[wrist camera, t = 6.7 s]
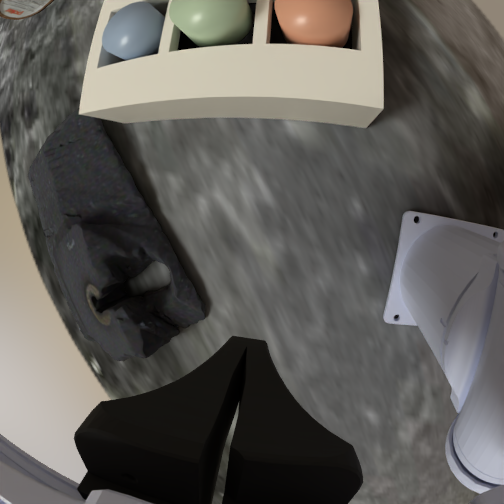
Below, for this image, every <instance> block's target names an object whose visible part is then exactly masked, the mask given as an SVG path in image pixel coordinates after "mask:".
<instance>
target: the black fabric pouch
mask: <svg viewBox="0 0 504 504" xmlns="http://www.w3.org/2000/svg"><path fill="white" fill-rule="evenodd" d="M79 109H80V108H78V109H77V110H75V111H74V112H73V113H71V114H70V115H68V117H67V118H66V119H65V120H64V121H63V122H62V123H61V124H60V125H59V126H58V127H57V128H56V129H55V131H54V132H53V133H52V134H50V135H49V136H48V138H47V139H46V141H45V143H44V144H43V146H42V147H41V149H40V151H39V153H38V154H37V156H36V158H35V160H34V161H33V163H32V165H31V166H30V170H29V173H28V178H29V180H30V183H31V187H32V191H33V194H34V197H35V200H36V203H37V206H38V209H39V216H40V219H41V223H42V227H43V229H44V235H45V237H46V243H47V247H48V252H49V254H50V256H51V261H52V263H53V264H54V272H55V273H56V276H57V279H58V281H59V283H60V287H61V290H62V292H63V294H64V296H65V298H66V301H67V304H68V306H69V308H70V310H71V312H72V314H73V316H74V318H75V321H76V322H77V324H78V325H79V329H80V331H81V332H82V334H83V335H84V337H85V338H86V339H88V340H90V341H93V342H94V341H95V342H98V343H100V345H101V347H102V348H103V350H104V351H106V352H107V353H108V354H110V355H111V356H112V357H113V359H115V360H118V361H125V360H127V359H128V358H132V357H135V356H136V357H140V358H147V357H149V356H150V355H152V354H153V353H154V352H156V351H157V350H158V348H160V347H161V346H163V345H164V344H166V343H168V342H169V341H170V339H171V338H172V337H174V336H176V335H178V334H179V331H178V329H177V328H178V326H181V327H183V328H187V327H189V326H190V324H195V323H197V322H198V321H199V320H204V319H205V314H204V311H205V304H204V303H203V302H202V301H201V300H200V296H199V295H198V294H197V293H196V291H195V289H194V286H193V284H192V282H191V281H190V280H189V279H188V278H187V277H186V275H185V272H184V269H183V268H182V266H181V265H180V263H179V261H178V258H177V256H176V255H175V253H174V251H173V249H172V247H171V244H170V242H169V240H168V238H167V236H166V235H165V234H164V233H162V229H161V226H160V224H159V223H158V222H157V219H156V218H155V217H154V215H153V212H152V210H151V209H150V208H149V207H148V206H147V205H146V202H145V200H144V198H143V196H141V195H140V193H139V191H138V190H137V188H136V186H135V183H134V181H133V179H132V176H131V174H130V172H129V171H128V170H127V169H126V167H125V166H124V165H123V161H122V158H121V157H120V155H119V154H118V153H117V151H116V150H115V147H114V146H113V143H112V141H111V140H110V138H109V137H108V136H107V134H106V132H105V129H104V126H103V123H102V121H101V118H96V117H91V116H85V115H80V114H79ZM155 260H156V261H158V262H161V263H163V264H165V265H166V266H167V267H168V269H169V271H170V277H171V283H170V284H169V285H168V286H167V287H164V288H161V289H160V290H158V291H148V292H146V293H145V295H144V297H143V298H142V296H137V297H132V298H129V297H127V296H126V294H127V293H126V291H125V287H124V283H123V282H124V281H125V280H126V279H127V278H128V277H135V276H137V275H138V274H139V273H141V272H142V271H143V270H144V269H145V268H146V267H147V266H148V265H149V264H150V263H152V262H153V261H155ZM174 322H175V323H176V324H175V323H174ZM172 324H175V326H173V325H172Z"/></svg>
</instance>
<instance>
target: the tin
mask: <svg viewBox="0 0 504 504" xmlns="http://www.w3.org/2000/svg"><path fill="white" fill-rule="evenodd" d="M52 1H54V0H0V16H1V17H3V18H6V19H14V20H19V19H24V18H27V17H30V16H33V15H35V14H37V13H38V12H40V11H41V10H43V9H44V8H45V7H46V6H48V5H49V4H50V3H51V2H52Z"/></svg>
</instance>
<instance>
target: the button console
mask: <svg viewBox="0 0 504 504" xmlns="http://www.w3.org/2000/svg"><path fill="white" fill-rule="evenodd" d="M134 2H147V3H149V4H151V5H152V6H153V7H154V8H155V9H156V10H158V11H159V12H160V13H161V14H162V15H166V16H165V21H164V26H163V31H162V36H161V41H160V46H159V52H158V54H155V55H150V56H145V57H140V58H135V59H131V60H127V61H126V60H124V59H122V58H120V57H118V56H115V55H113V54H111V53H109V52H107V51H106V50H105V49H104V47H103V44H102V36H103V32H104V29H105V27H106V25H107V24H108V22H109V21H110V19H111V18H112V17H113V16H114V15H115V14H116V13H117V12H118V11H119V10H120V9H122V8H123V7H125V6H127V5H129V4H131V3H134ZM171 2H172V0H104V3H103V6H102V9H101V12H100V16H99V19H98V22H97V26H96V29H95V33H94V37H93V41H92V45H91V49H90V53H89V58H88V62H87V67H86V72H85V77H84V83H83V89H82V95H81V102H80V109H79V114H80V115H85V116H91V117H96V118H101V119H106V120H111V121H116V122H120V123H125V124H126V123H135V122H145V121H157V120H171V119H190V118H265V119H284V120H298V121H310V122H321V123H330V124H338V125H346V126H354V127H360V128H367V127H368V126H369V124H370V123H371V122H372V121H373V120H374V119H375V118H376V117H377V116H378V115H379V113H380V112H381V111H382V110H383V108H384V82H383V52H382V36H381V24H380V14H379V5H378V0H351V3H352V6H353V15H352V21H351V22H352V49H346V48H337V47H327V46H316V45H299V44H270V34H271V20H272V7H273V2H275V0H247V2H248V3H256V12H255V22H254V33H253V43H252V44H239V45H223V46H211V47H202V48H193V49H185V50H178V44H179V39H180V33H181V30H180V29H179V28H178V27H177V26H176V25H175V24H174V23H173V22H172V21H171V19H170V16H169V8H170V4H171ZM177 50H178V51H177Z"/></svg>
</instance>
